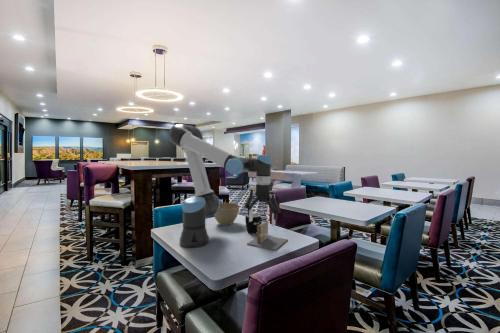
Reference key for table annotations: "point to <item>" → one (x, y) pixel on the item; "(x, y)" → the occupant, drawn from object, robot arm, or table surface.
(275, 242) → the mat
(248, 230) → the mug
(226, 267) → the table surface
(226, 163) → the robot arm
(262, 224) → the tile
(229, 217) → the flower pot
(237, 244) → the table surface
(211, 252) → the table surface
